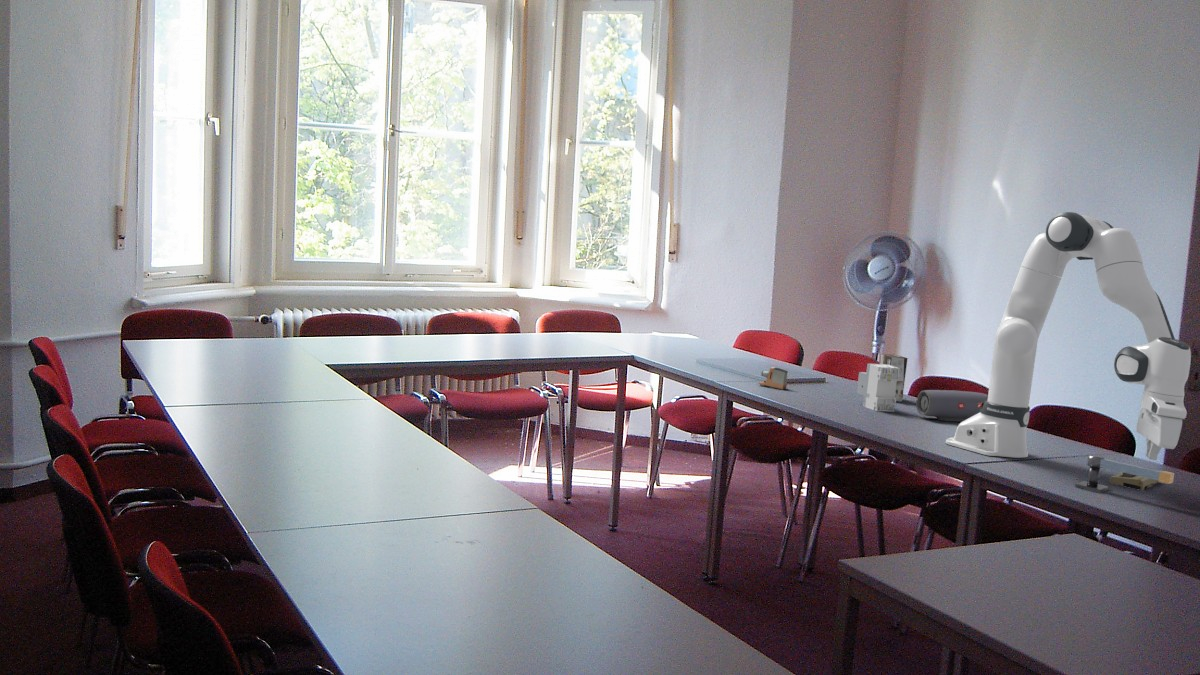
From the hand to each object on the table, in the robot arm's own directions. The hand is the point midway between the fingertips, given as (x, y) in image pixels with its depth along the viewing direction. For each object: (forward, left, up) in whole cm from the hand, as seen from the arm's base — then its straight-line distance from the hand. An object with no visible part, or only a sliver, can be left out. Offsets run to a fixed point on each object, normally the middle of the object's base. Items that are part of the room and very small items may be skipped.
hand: (1150, 458), depth 253 cm
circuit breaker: (-101, +41, -10) cm, 109 cm away
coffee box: (-108, +64, -10) cm, 126 cm away
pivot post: (-11, -6, -10) cm, 15 cm away
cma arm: (-3, -6, -4) cm, 8 cm away
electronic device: (-140, +37, -10) cm, 145 cm away
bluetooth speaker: (-75, +48, -10) cm, 90 cm away
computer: (-7, +13, -10) cm, 18 cm away
